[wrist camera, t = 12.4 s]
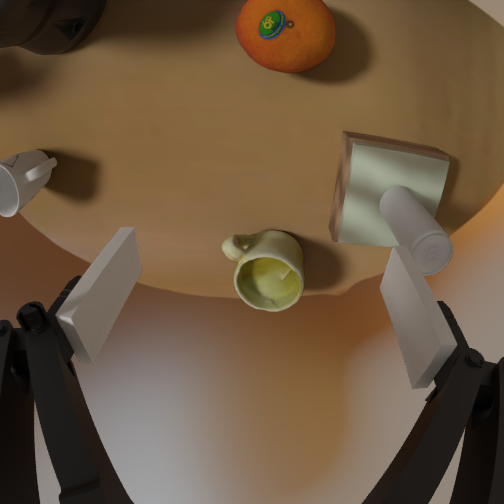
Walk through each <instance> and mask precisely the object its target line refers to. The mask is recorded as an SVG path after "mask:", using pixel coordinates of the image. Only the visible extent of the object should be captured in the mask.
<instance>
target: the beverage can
mask: <svg viewBox="0 0 504 504" xmlns="http://www.w3.org/2000/svg"><path fill="white" fill-rule="evenodd" d="M379 209H380V213H381V214H382V216H383V218H384V219H385V221H386V223H387V224H388V226H389V228H390V229H391V231H392V233H393V235H394V236H395V238H396V240H397V242H398V243H399V245H400V246H406V247H407V248H408V250H409V252H410V254H411V255H412V257H413V259H414V260H415V262H416V264H417V266H418V267H419V269H420V271H421V273H422V275H433V274H435V273H438V272H439V271H441V270H442V269H443V268H445V267H446V265H447V264H448V263H449V261H450V259H451V257H452V254H453V246H452V243H451V241H450V238H449V236H448V235H447V233H446V232H445V231H444V230H443V229H442V227H441V226H440V225H439V224H438V223H437V221H436V220H435V219H434V218H433V217H432V216H431V215H430V213H429V212H428V211H427V210H426V209H425V208H424V207H423V205H422V204H421V203H420V202H419V201H418V200H417V199H416V197H415V196H414V195H413V194H412V193H411V192H410V191H409V190H408V189H407V188H405V187H403V186H394V187H391V188H389V189H388V190H387V191H386V192H385V193H384V194H383V196H382V198H381V200H380V204H379Z"/></svg>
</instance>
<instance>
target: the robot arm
mask: <svg viewBox="0 0 504 504" xmlns="http://www.w3.org/2000/svg"><path fill="white" fill-rule="evenodd" d="M105 2H106V0H0V48H3V47H10V46H19V47H22V48H24V49H26V50H29V51H31V52H33V53H36V54H40V55H51V54H59V53H63V52H66V51H68V50H70V49H72V48H74V47H75V46H76V45H78V44H79V43H80V42H81V41H83V40H84V39H85V38H86V37H87V36H88V34H89V33H90V32H91V31H92V29H93V28H94V27H95V25H96V23H97V22H98V20H99V18H100V16H101V14H102V11H103V9H104V6H105ZM141 272H142V267H141V262H140V257H139V252H138V246H137V241H136V235H135V229H134V227H121V228H120V229H119V230H118V231H117V233H116V234H115V235H114V236H113V238H112V239H111V240H110V241H109V243H108V244H107V245H106V246H105V248H104V249H103V250H102V251H101V253H100V254H99V255H98V256H97V258H96V259H95V260H94V262H93V263H92V264H91V266H90V267H89V268H88V270H87V271H86V272H85V274H84V275H83V276H76V277H75V278H74V279H72V280H71V281H69V283H68V284H67V285H66V287H65V288H64V291H62V292H61V293H60V295H59V297H57V299H56V300H55V302H54V303H53V305H52V306H51V307H50V309H49V310H48V312H47V313H46V311H45V309H44V307H43V305H42V303H40V302H36V301H34V302H29V303H27V304H25V305H24V306H22V307H21V308H20V309H19V311H18V313H17V316H16V318H17V320H18V322H19V324H20V325H21V327H22V328H13V326H12V325H11V323H10V321H8V320H1V321H0V504H40V498H39V491H38V484H37V473H36V461H35V443H34V399H35V403H36V408H37V412H38V416H39V420H40V424H41V428H42V432H43V435H44V439H45V443H46V446H47V449H48V452H49V455H50V459H51V462H52V465H53V468H54V470H55V473H56V476H57V479H58V481H59V484H60V487H61V493H60V495H59V502H60V504H134V503H133V501H132V500H131V499H130V497H129V496H128V494H127V493H126V491H125V489H124V487H123V485H122V483H121V481H120V479H119V477H118V475H117V474H116V471H115V469H114V468H113V466H112V463H111V461H110V459H109V457H108V455H107V453H106V450H105V448H104V446H103V444H102V442H101V439H100V437H99V435H98V432H97V430H96V427H95V425H94V422H93V420H92V417H91V415H90V412H89V409H88V407H87V404H86V401H85V399H84V396H83V393H82V390H81V387H80V384H79V381H78V378H77V374H76V371H75V368H74V365H73V362H72V361H71V357H72V355H73V353H75V355H76V357H77V359H78V360H79V361H81V362H84V363H88V364H94V363H95V360H96V358H97V356H98V354H99V352H100V350H101V348H102V346H103V344H104V342H105V340H106V338H107V336H108V334H109V332H110V330H111V328H112V326H113V324H114V322H115V320H116V318H117V316H118V315H119V313H120V311H121V309H122V307H123V305H124V303H125V301H126V299H127V298H128V296H129V294H130V292H131V290H132V289H133V287H134V285H135V283H136V281H137V280H138V278H139V276H140V274H141ZM380 290H381V293H382V296H383V298H384V301H385V304H386V307H387V309H388V313H389V315H390V318H391V321H392V324H393V327H394V330H395V333H396V336H397V339H398V342H399V346H400V349H401V352H402V355H403V359H404V362H405V365H406V368H407V372H408V376H409V379H410V383H411V386H412V389H418V388H427V387H428V386H429V385H430V383H431V382H432V381H433V379H434V382H435V385H436V387H435V389H434V390H433V391H432V392H431V393H430V395H429V396H428V397H427V398H426V400H425V401H427V403H426V405H425V407H424V409H423V411H422V412H421V414H420V416H419V418H418V420H417V422H416V423H415V425H414V427H413V429H412V430H411V432H410V434H409V435H408V437H407V439H406V440H405V442H404V444H403V445H402V447H401V449H400V450H399V452H398V453H397V455H396V457H395V458H394V460H393V461H392V463H391V464H390V466H389V467H388V469H387V470H386V471H385V473H384V474H383V476H382V477H381V479H380V480H379V482H378V483H377V484H376V486H375V487H374V488H373V490H372V491H371V492H370V493H369V495H368V496H367V498H366V499H365V500H364V501H363V503H362V504H428V503H429V501H430V500H431V498H432V496H433V495H434V493H435V491H436V489H437V487H438V485H439V484H440V482H441V480H442V478H443V476H444V474H445V472H446V470H447V468H448V466H449V463H450V462H451V459H452V457H453V455H454V453H455V451H456V449H457V446H458V444H459V441H460V439H461V437H462V434H463V432H464V429H465V434H464V441H463V447H462V452H461V457H460V463H459V467H458V472H457V476H456V481H455V485H454V488H453V492H452V496H451V500H450V503H449V504H504V357H502V358H501V359H500V361H499V362H498V364H496V363H491V362H487V361H485V360H484V358H483V356H482V355H481V354H480V353H479V352H478V351H476V350H475V349H472V348H469V346H468V344H467V342H466V340H465V337H464V335H463V333H462V331H461V329H460V327H459V326H458V325H457V324H458V323H457V321H456V319H455V318H454V315H453V313H452V312H451V310H450V308H449V307H448V306H447V305H446V304H445V303H444V302H443V301H436V299H435V297H434V295H433V293H432V291H431V289H430V288H429V286H428V284H427V282H426V280H425V278H424V276H423V275H422V273H421V271H420V269H419V267H418V266H417V264H416V262H415V260H414V259H413V257H412V255H411V254H410V252H409V250H408V248H407V247H406V246H395V245H393V248H392V251H391V255H390V258H389V261H388V264H387V267H386V271H385V274H384V277H383V280H382V283H381V285H380ZM465 427H466V428H465Z"/></svg>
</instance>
